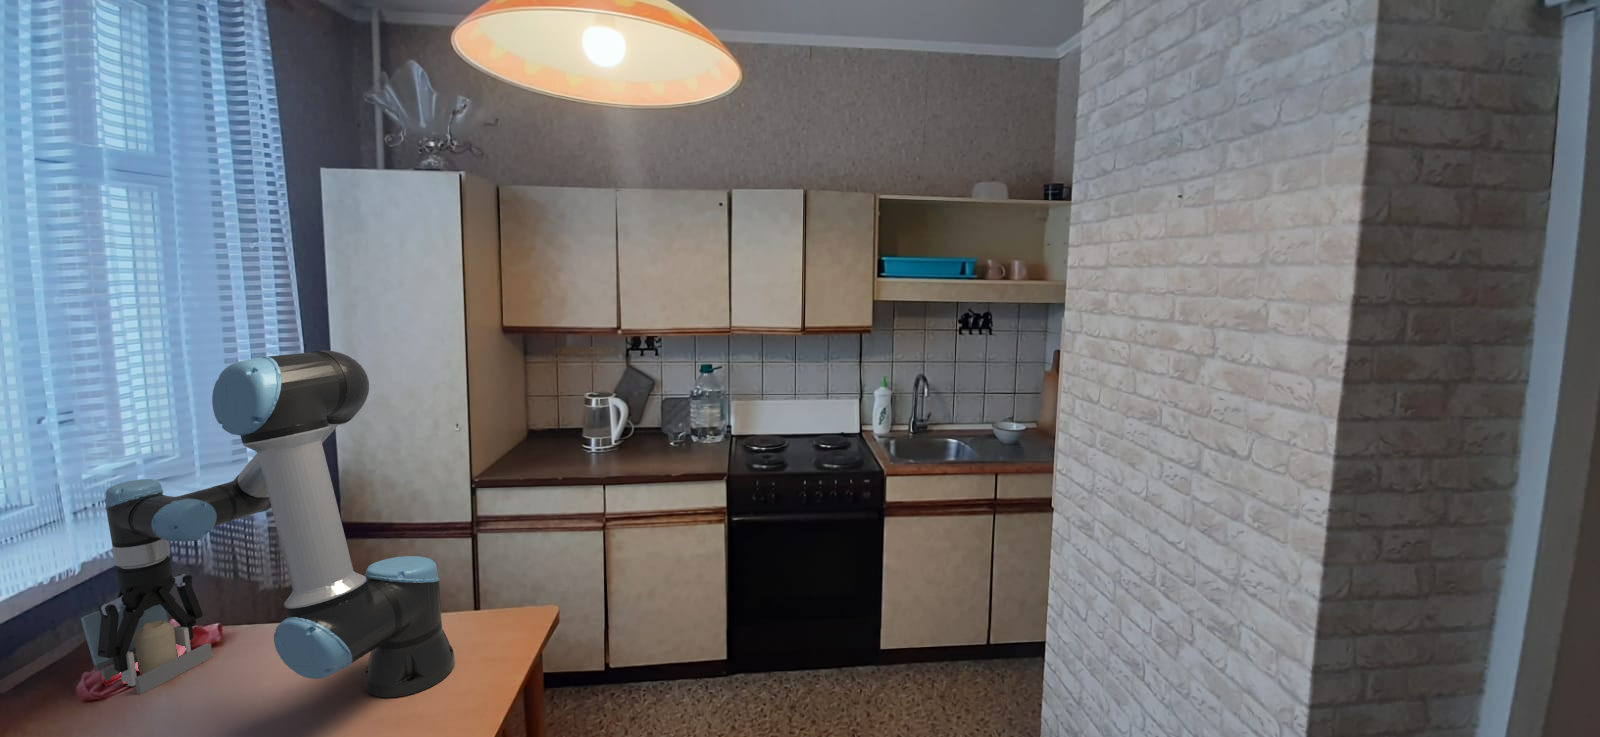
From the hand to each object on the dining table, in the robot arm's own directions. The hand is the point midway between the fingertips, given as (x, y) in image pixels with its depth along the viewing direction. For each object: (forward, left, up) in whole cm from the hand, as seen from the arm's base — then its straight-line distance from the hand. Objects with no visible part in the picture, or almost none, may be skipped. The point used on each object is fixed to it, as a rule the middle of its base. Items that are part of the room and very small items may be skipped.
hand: (158, 670), depth 128 cm
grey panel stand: (0, 0, 0) cm, 0 cm away
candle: (0, 0, 0) cm, 0 cm away
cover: (+6, 0, +8) cm, 10 cm away
